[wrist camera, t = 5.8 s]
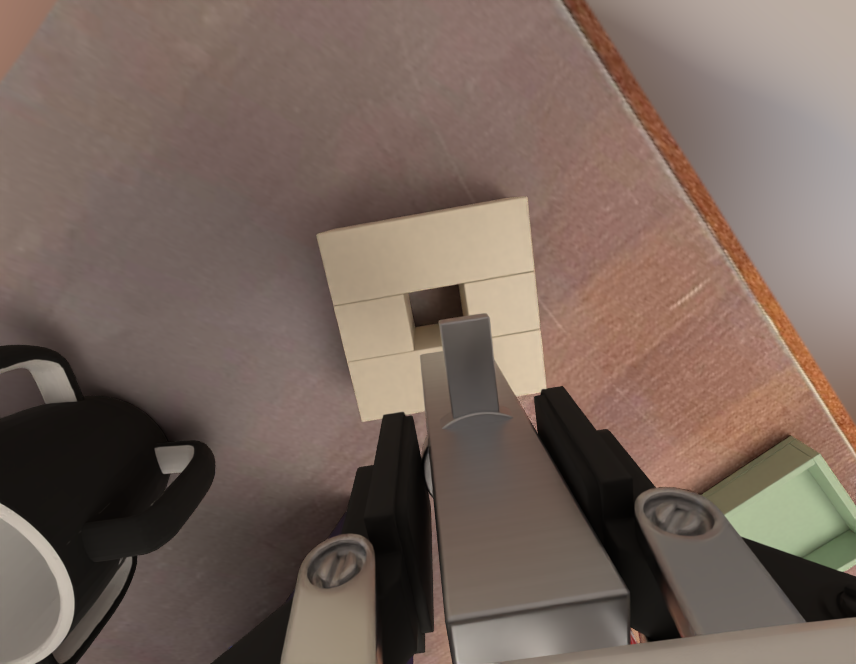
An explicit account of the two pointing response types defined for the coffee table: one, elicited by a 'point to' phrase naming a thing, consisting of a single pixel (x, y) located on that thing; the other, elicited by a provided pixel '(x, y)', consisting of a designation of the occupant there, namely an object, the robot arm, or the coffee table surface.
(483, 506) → the silver square peg
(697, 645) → the robot arm
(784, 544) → the tray
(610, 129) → the coffee table surface
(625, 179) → the coffee table surface
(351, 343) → the beige square-hole block
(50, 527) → the mug
